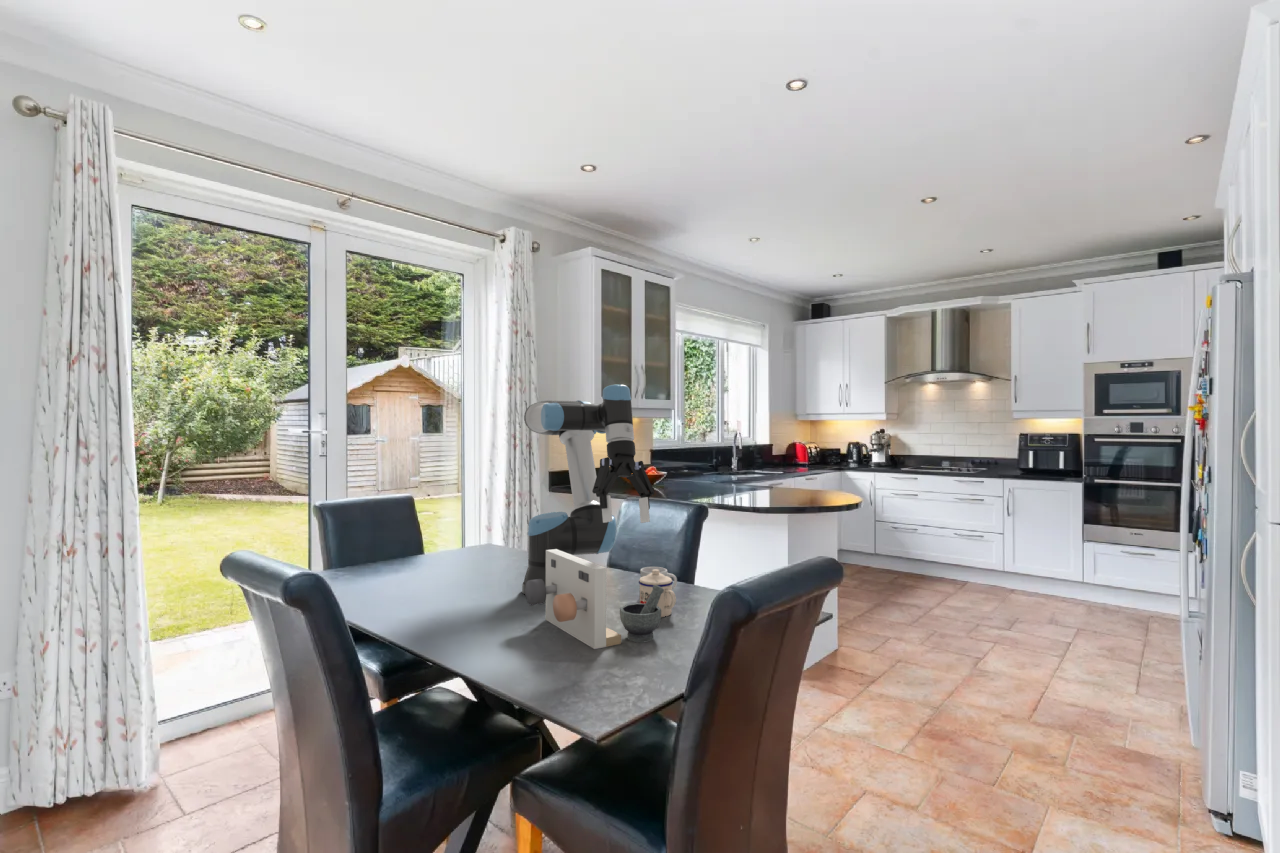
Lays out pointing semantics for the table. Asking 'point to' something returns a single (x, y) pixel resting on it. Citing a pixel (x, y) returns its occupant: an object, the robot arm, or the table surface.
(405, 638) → the table surface
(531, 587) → the charcoal button
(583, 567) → the button panel
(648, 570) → the cup
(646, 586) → the teacup with lid
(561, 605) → the terracotta button
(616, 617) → the table surface
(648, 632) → the mortar and pestle
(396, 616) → the table surface
